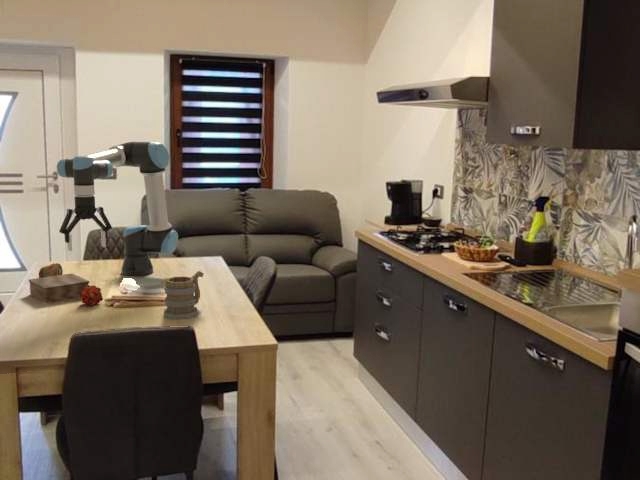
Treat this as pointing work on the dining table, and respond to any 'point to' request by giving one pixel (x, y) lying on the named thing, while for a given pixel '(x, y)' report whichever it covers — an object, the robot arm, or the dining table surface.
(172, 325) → the dining table surface
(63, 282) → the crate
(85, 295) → the dragon fruit
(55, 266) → the tin
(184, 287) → the tankard
